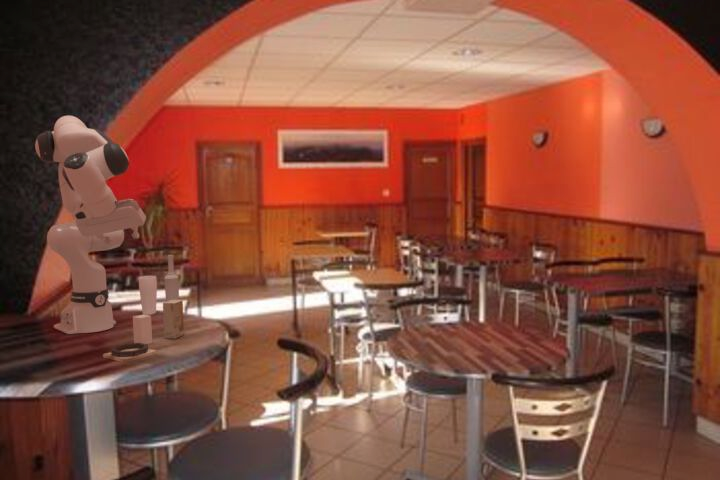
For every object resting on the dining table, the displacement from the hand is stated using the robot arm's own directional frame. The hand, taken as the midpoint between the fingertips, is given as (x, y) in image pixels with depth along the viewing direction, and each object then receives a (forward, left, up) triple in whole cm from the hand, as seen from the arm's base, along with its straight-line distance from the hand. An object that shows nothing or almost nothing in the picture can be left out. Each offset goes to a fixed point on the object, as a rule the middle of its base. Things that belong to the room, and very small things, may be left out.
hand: (122, 240), depth 186 cm
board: (+7, -4, -35) cm, 36 cm away
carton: (-1, +7, -35) cm, 35 cm away
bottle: (-19, +34, -35) cm, 52 cm away
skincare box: (+1, +18, -35) cm, 39 cm away
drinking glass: (-37, +36, -35) cm, 62 cm away
